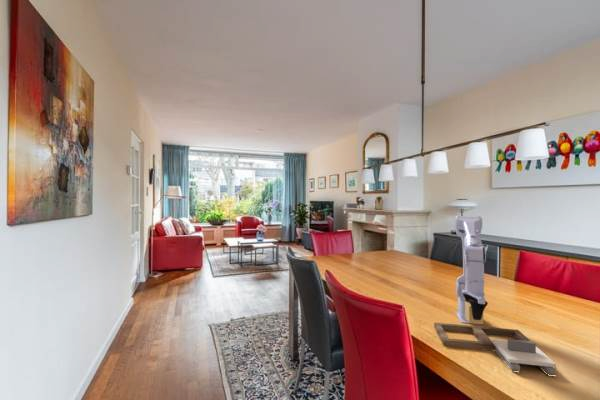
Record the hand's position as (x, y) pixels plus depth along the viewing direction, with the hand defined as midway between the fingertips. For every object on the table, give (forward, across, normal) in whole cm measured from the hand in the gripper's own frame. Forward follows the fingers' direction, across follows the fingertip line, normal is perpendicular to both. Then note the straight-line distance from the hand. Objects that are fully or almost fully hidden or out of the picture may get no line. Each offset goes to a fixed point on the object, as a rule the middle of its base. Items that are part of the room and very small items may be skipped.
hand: (474, 316), depth 104 cm
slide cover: (+6, +12, +10) cm, 16 cm away
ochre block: (+2, 0, 0) cm, 2 cm away
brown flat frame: (+8, +6, +2) cm, 11 cm away
